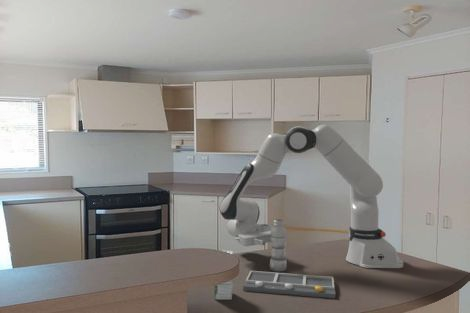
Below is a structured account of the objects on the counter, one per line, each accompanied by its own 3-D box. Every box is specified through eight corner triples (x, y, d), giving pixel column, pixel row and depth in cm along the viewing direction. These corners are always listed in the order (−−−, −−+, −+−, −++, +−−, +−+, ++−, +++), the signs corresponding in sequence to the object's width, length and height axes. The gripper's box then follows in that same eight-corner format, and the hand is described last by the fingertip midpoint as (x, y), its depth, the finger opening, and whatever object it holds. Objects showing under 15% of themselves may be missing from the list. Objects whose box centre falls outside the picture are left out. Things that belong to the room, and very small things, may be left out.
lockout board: (333, 282, 141) (333, 275, 141) (335, 298, 127) (335, 290, 127) (250, 276, 147) (250, 269, 147) (243, 290, 133) (243, 282, 133)
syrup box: (215, 292, 132) (215, 250, 131) (233, 293, 131) (233, 250, 131) (214, 299, 126) (214, 255, 125) (232, 300, 126) (232, 255, 125)
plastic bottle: (268, 268, 156) (268, 218, 155) (284, 267, 156) (285, 218, 155) (271, 274, 149) (271, 222, 148) (288, 273, 150) (289, 221, 149)
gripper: (232, 230, 161) (251, 237, 150) (271, 223, 172) (292, 230, 161) (232, 245, 161) (251, 253, 150) (271, 238, 173) (292, 245, 161)
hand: (273, 241), depth 155 cm, fingers open, 8 cm apart
